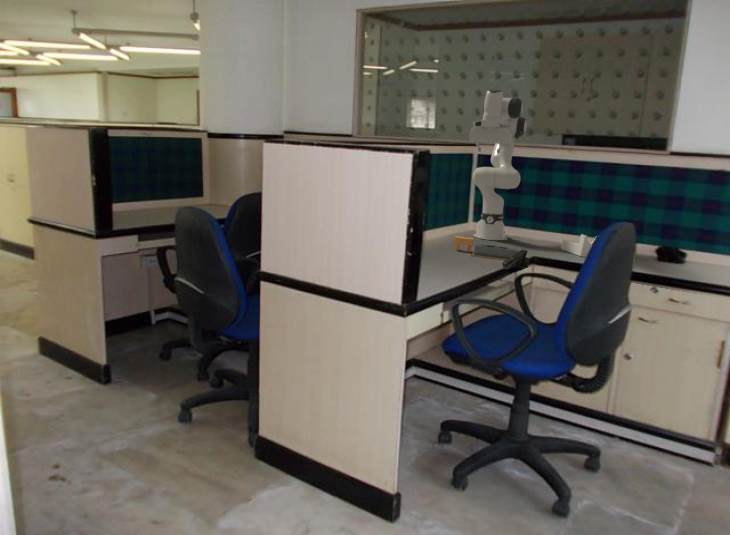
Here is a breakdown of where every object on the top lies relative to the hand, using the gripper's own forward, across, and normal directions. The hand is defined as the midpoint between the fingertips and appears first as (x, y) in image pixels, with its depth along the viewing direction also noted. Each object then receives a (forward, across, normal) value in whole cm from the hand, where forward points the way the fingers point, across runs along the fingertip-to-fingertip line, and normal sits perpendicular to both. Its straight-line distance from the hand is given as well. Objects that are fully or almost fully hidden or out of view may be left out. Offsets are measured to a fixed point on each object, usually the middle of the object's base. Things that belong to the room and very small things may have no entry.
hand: (488, 152), depth 304 cm
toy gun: (+48, -24, +39) cm, 67 cm away
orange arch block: (+48, +5, +15) cm, 51 cm away
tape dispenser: (+48, -48, -18) cm, 70 cm away
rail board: (+48, -12, +19) cm, 53 cm away
